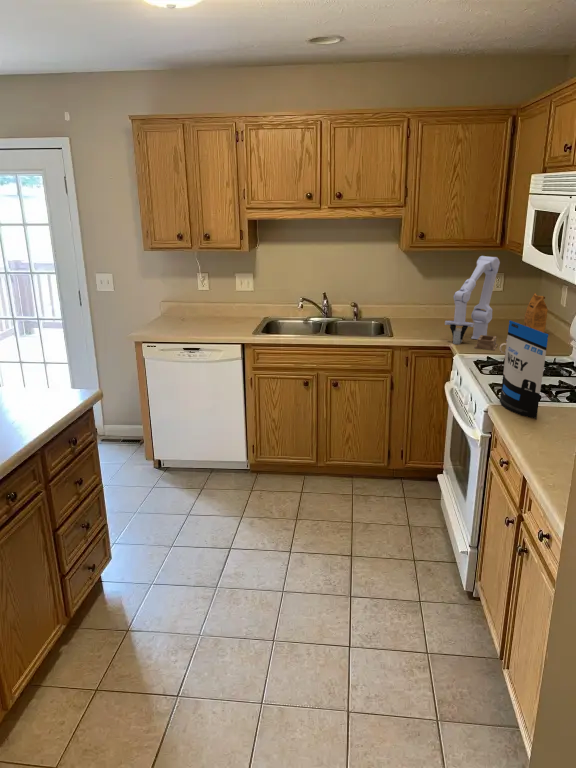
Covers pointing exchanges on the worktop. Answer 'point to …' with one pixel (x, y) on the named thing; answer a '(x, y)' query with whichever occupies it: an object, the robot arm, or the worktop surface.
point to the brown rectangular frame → (486, 342)
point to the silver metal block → (457, 336)
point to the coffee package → (536, 314)
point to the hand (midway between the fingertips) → (457, 339)
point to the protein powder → (523, 369)
